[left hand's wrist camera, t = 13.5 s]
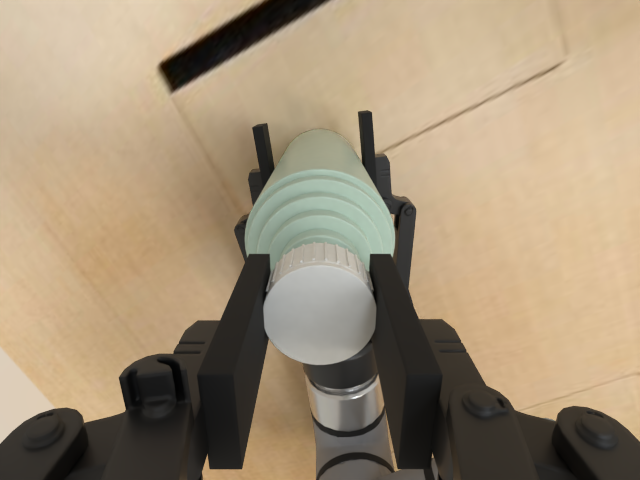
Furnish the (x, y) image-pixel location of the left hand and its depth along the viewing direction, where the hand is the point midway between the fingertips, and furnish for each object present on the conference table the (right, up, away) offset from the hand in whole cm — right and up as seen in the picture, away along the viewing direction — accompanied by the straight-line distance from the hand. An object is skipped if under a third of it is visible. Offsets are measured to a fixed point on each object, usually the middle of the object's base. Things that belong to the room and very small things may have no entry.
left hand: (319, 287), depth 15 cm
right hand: (-1, +11, +15) cm, 19 cm away
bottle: (0, +8, +22) cm, 24 cm away
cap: (0, -1, -2) cm, 2 cm away
